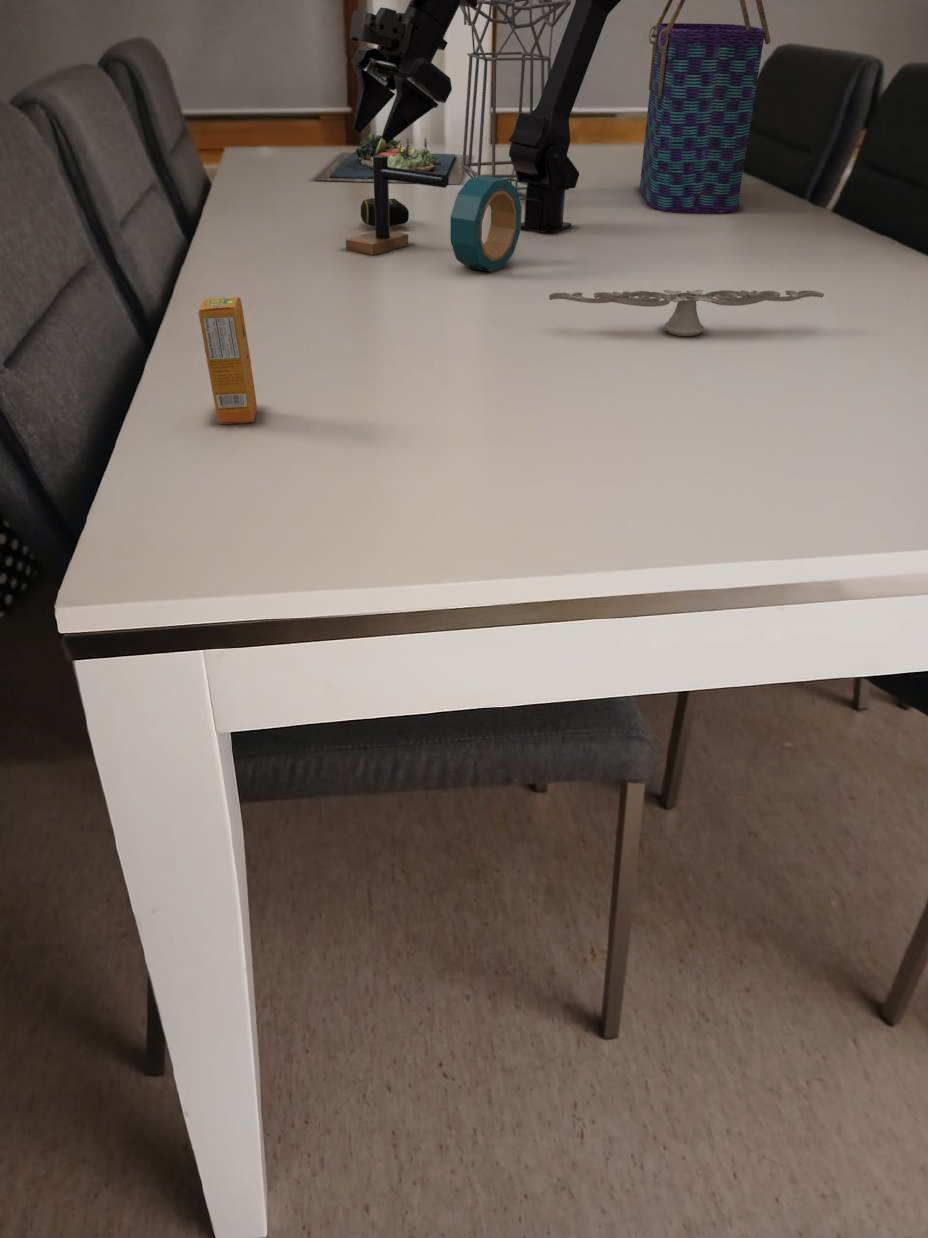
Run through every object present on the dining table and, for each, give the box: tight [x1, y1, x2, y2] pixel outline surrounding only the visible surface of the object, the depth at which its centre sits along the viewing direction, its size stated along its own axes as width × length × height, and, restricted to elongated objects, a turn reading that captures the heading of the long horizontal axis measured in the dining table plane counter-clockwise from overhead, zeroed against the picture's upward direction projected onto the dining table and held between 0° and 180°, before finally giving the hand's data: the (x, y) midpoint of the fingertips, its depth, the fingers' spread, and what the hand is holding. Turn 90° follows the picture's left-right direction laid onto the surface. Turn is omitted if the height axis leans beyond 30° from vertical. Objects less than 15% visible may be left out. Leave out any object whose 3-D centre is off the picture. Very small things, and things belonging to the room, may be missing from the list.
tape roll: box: [449, 176, 523, 273], centre depth 126 cm, size 11×4×11 cm, turn 145°
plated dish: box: [314, 132, 469, 185], centre depth 194 cm, size 35×28×7 cm
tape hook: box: [373, 155, 449, 239], centre depth 132 cm, size 2×12×12 cm, turn 55°
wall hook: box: [548, 289, 825, 337], centre depth 106 cm, size 5×30×4 cm, turn 94°
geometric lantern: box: [459, 0, 572, 201], centre depth 160 cm, size 16×16×35 cm
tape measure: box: [360, 197, 410, 228], centre depth 149 cm, size 7×7×4 cm
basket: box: [639, 0, 771, 215], centre depth 161 cm, size 26×18×40 cm
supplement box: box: [197, 296, 258, 425], centre depth 82 cm, size 3×3×10 cm
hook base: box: [345, 230, 409, 256], centre depth 138 cm, size 8×5×2 cm, turn 145°
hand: (370, 135), depth 129 cm, fingers open, 9 cm apart
